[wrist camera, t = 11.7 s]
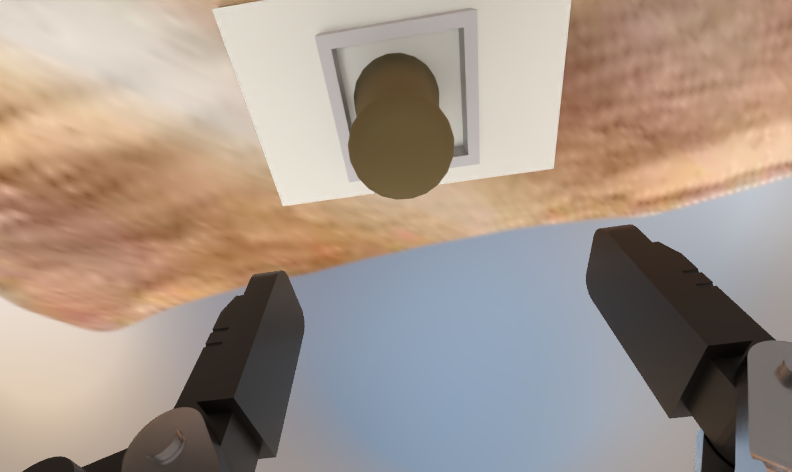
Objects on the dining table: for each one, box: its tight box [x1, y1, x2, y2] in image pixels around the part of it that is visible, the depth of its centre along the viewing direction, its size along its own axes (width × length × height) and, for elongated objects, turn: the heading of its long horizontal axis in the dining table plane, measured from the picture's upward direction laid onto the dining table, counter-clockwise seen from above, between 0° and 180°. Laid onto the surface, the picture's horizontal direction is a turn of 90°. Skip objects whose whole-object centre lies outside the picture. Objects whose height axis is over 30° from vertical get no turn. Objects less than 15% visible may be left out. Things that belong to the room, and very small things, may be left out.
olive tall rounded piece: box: [348, 53, 454, 199], centre depth 21 cm, size 6×6×11 cm
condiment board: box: [212, 0, 571, 206], centre depth 25 cm, size 14×22×3 cm, turn 98°
